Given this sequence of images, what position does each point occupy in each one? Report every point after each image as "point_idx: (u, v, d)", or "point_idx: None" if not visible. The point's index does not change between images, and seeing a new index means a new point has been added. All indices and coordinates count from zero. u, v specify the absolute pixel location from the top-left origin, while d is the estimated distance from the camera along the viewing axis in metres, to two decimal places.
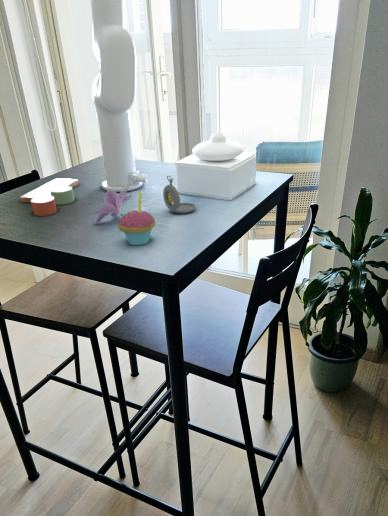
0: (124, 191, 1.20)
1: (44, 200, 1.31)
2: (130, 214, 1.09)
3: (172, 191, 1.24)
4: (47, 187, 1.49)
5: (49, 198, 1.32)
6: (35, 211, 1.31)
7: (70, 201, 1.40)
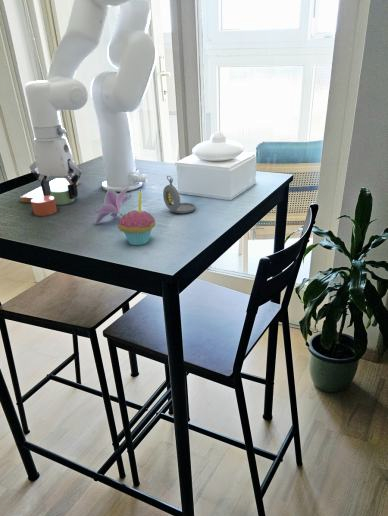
0: (124, 191, 1.20)
1: (44, 200, 1.31)
2: (130, 214, 1.09)
3: (172, 191, 1.24)
4: None
5: (49, 198, 1.32)
6: (35, 211, 1.31)
7: (70, 201, 1.40)
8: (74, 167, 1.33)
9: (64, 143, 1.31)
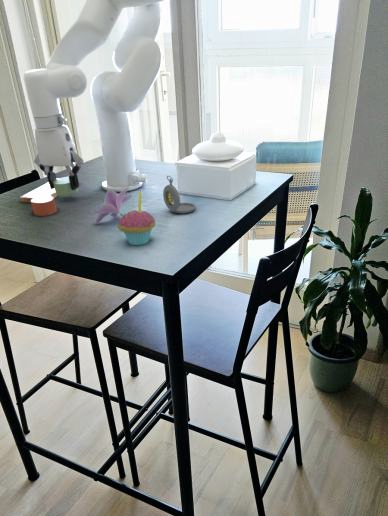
0: (124, 191, 1.20)
1: (44, 200, 1.31)
2: (130, 214, 1.09)
3: (172, 191, 1.24)
4: (47, 187, 1.49)
5: (49, 198, 1.32)
6: (35, 211, 1.31)
7: (73, 192, 1.39)
8: (76, 158, 1.32)
9: (65, 132, 1.29)
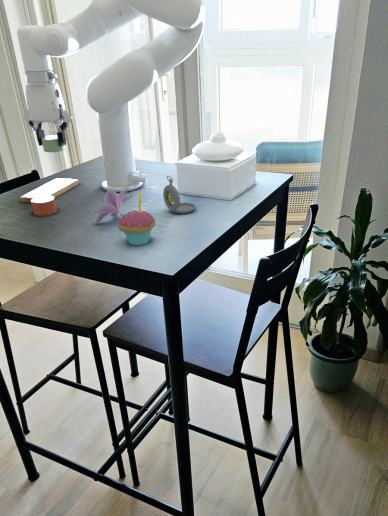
0: (124, 191, 1.20)
1: (44, 200, 1.31)
2: (130, 214, 1.09)
3: (172, 191, 1.24)
4: (47, 187, 1.49)
5: (49, 198, 1.32)
6: (35, 211, 1.31)
7: (61, 149, 1.45)
8: (64, 114, 1.38)
9: (55, 88, 1.35)
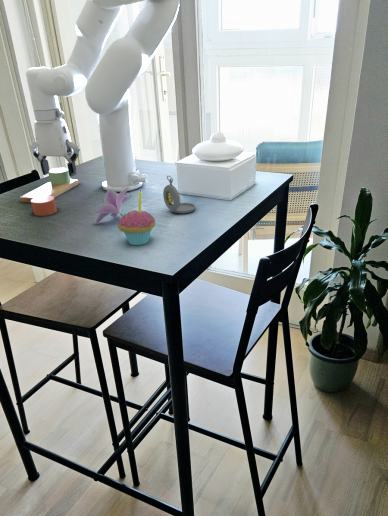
0: (124, 191, 1.20)
1: (44, 200, 1.31)
2: (130, 214, 1.09)
3: (172, 191, 1.24)
4: (47, 187, 1.49)
5: (49, 198, 1.32)
6: (35, 211, 1.31)
7: (66, 181, 1.51)
8: (72, 146, 1.44)
9: (62, 125, 1.42)
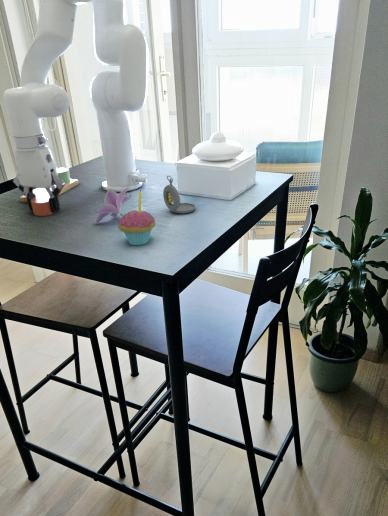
0: (124, 191, 1.20)
1: (44, 200, 1.31)
2: (130, 214, 1.09)
3: (172, 191, 1.24)
4: None
5: None
6: (35, 211, 1.31)
7: (66, 181, 1.51)
8: (57, 180, 1.27)
9: (46, 153, 1.24)
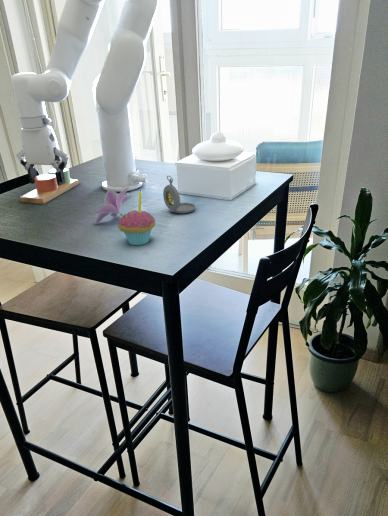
0: (124, 191, 1.20)
1: (47, 177, 1.44)
2: (130, 214, 1.09)
3: (172, 191, 1.24)
4: None
5: (51, 176, 1.46)
6: (38, 188, 1.45)
7: (66, 181, 1.51)
8: (60, 154, 1.39)
9: (50, 132, 1.37)
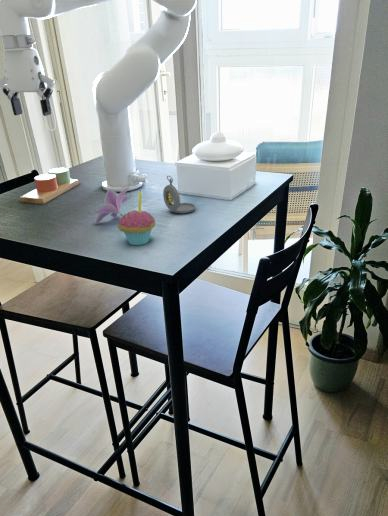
0: (124, 191, 1.20)
1: (47, 177, 1.44)
2: (130, 214, 1.09)
3: (172, 191, 1.24)
4: None
5: (51, 176, 1.46)
6: (38, 188, 1.45)
7: (66, 181, 1.51)
8: (45, 79, 1.28)
9: (34, 54, 1.26)
